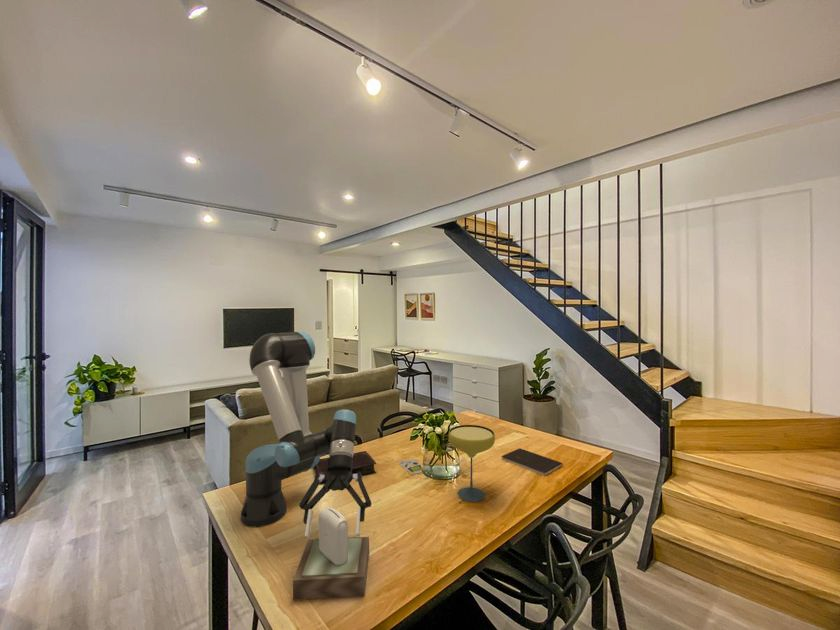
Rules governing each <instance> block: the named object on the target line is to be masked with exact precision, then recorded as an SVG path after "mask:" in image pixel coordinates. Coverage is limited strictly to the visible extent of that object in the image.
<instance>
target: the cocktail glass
mask: <svg viewBox="0 0 840 630" xmlns="http://www.w3.org/2000/svg"><path fill="white" fill-rule="evenodd" d="M448 441H449V443H450V445H452V447H454V448H455V449H457V450H458V451H461V452H462V453H465V454H466V455H467V456H468V457H469V458H470V483H469V485H470V486H467V487H462V488H460V489H459V490H458V491H457V496H458V498H459V499H461V500H463V501H464V502H469V503H477V502H478V503H479V502H481V501H484V499H485V498H486V493H485V491H484V490H482V489H480V488H478V487H474V485H473V484H474V483H473V458H474V457H476V456H477V454H480V453H483V452H486V451H488V450H490V449H491V448H492V447H493V446H494V444H495V442H496V435H495V432H494V430H492V429H490V428H489V427H486V426H482V425H477V424H461V425H457V426H453V427H452V428H450V429H449V431H448Z"/></svg>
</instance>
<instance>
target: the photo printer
mask: <svg viewBox="0 0 840 630" xmlns="http://www.w3.org/2000/svg"><path fill="white" fill-rule="evenodd" d="M348 524H349V523H348V522H347V520H346V518H345V517H344V516H343V514H342V513H340V512H339V511H338V510H337V509H335V508H333V507H330V506H329V507H328V506H327V507H323V508H322V509H321V510H320V511H319V514H318V539H319V549H320V551H321V552H322V553H323V554H324V555H325V556H326V557H327V558H328V559H329V560H330V561H332V562H333V563H334V564H336V565H342V564H344V563H345V562H346V561H347V559H348V538H349V529H348V528H349V525H348Z"/></svg>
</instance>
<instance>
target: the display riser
mask: <svg viewBox="0 0 840 630" xmlns="http://www.w3.org/2000/svg"><path fill="white" fill-rule="evenodd" d="M369 556H370V536H355V537H354V536H353V537H348V559H347V561H346V562H345V563H344V564H342V565H336V564H334V563H333V562H332V561H330V560H329V559H328V558H327V557H326V556H325V555H324V554H323V553H322V552H321V551H320V549H319V538H314V539H313V538H311V539H310V538H307V541H306V545H305V547H304V549H303V553H302V555H301V557H300V561H299V563H298V566H297V568H296V572H295V574H294V577H293V579H292V600H293V601H295V600H296V599H297V600H299V601H300V600H314V599H329V598H330V599H331V598H332V599H333V598H348V597H349V598H352V597H363V596H365V595H366V585H367V576H368V568H369V558H370V557H369ZM294 599H295V600H294Z"/></svg>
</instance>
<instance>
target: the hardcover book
mask: <svg viewBox="0 0 840 630" xmlns="http://www.w3.org/2000/svg"><path fill="white" fill-rule="evenodd" d="M501 460H502V461H504V462H508V463H511V465H512V464H513V465H515V466H518V467H520V468H522V469H524V470H528V471H530V472H533V473H535V474H537V475H540V476H543V477H546V476H547V475H549V474H551V473H553V472H554V471H557V470H558V469H560V468H561V467H563V462H561V461H558V460H555V459H552V458H549V457H547V456H543V455H540V454H538V453H535V452H532V451H528V450H527V449H524V448H520V447H519V448H517V449H515V450H512V451H510V452H507V453H505V454H503V455H501Z"/></svg>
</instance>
